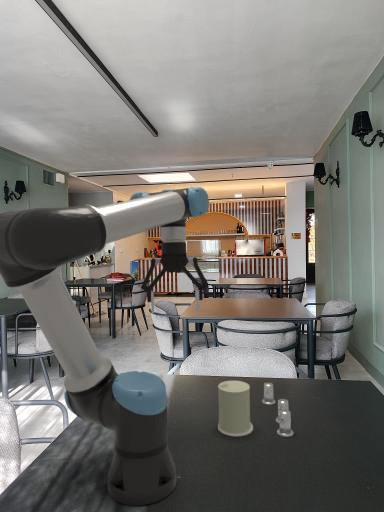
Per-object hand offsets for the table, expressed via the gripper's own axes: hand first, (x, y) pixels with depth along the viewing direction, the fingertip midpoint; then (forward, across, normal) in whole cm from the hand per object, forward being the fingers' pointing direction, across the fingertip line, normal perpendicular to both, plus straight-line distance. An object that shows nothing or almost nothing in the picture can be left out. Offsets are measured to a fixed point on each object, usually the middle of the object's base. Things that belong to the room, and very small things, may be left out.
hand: (175, 312), depth 114 cm
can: (+32, -16, +8) cm, 37 cm away
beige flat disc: (+33, -16, +8) cm, 37 cm away
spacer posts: (+33, -23, +2) cm, 40 cm away
